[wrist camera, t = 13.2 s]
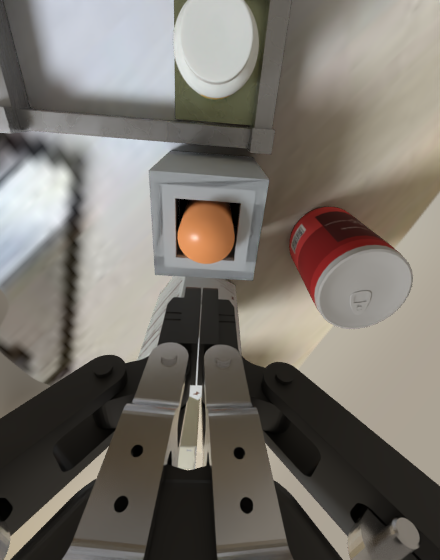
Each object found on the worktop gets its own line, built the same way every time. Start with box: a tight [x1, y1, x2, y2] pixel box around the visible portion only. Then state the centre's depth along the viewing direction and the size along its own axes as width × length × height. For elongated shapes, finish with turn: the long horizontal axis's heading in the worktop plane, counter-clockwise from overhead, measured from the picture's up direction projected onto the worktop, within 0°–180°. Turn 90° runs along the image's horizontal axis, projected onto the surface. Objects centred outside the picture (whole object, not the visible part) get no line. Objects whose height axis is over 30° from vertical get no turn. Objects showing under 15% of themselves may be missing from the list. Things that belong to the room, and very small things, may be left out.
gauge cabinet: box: [149, 151, 269, 281], centre depth 24 cm, size 8×8×10 cm
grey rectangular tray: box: [0, 0, 292, 154], centre depth 21 cm, size 23×12×4 cm, turn 86°
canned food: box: [289, 207, 413, 329], centre depth 27 cm, size 8×8×11 cm
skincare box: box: [178, 396, 200, 470], centre depth 39 cm, size 6×4×12 cm
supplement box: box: [137, 276, 242, 400], centre depth 30 cm, size 7×7×13 cm
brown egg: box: [177, 199, 235, 264], centre depth 22 cm, size 4×4×6 cm
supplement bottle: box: [173, 0, 259, 100], centre depth 19 cm, size 5×5×10 cm
